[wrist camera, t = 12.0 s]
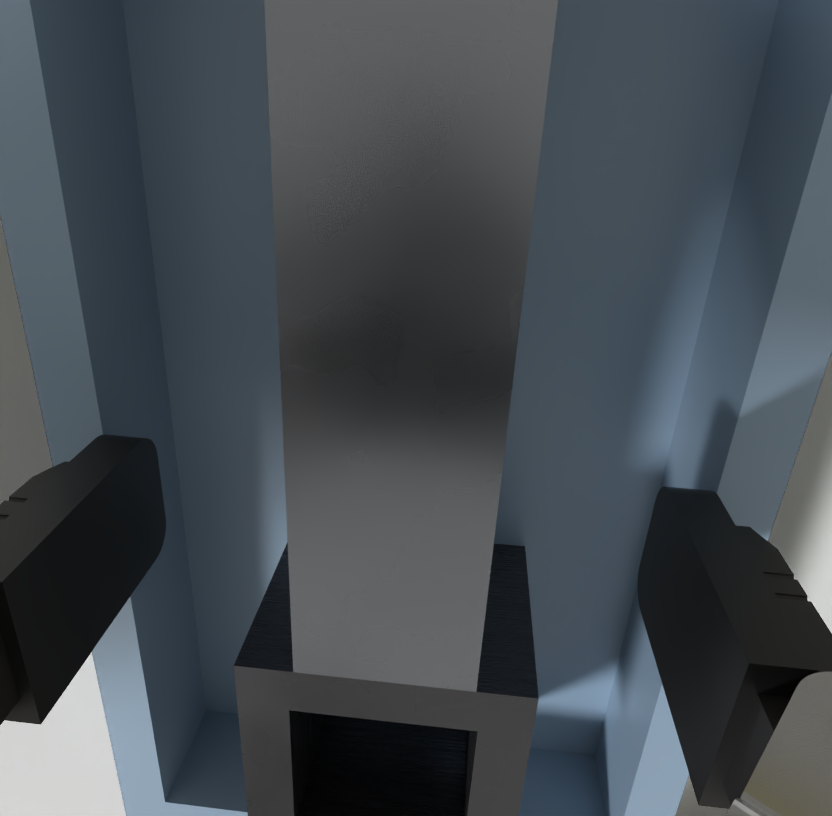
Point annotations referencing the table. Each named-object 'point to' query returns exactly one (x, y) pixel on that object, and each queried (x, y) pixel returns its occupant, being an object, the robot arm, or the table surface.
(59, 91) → the tray
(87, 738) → the table surface
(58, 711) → the table surface
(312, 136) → the strut
